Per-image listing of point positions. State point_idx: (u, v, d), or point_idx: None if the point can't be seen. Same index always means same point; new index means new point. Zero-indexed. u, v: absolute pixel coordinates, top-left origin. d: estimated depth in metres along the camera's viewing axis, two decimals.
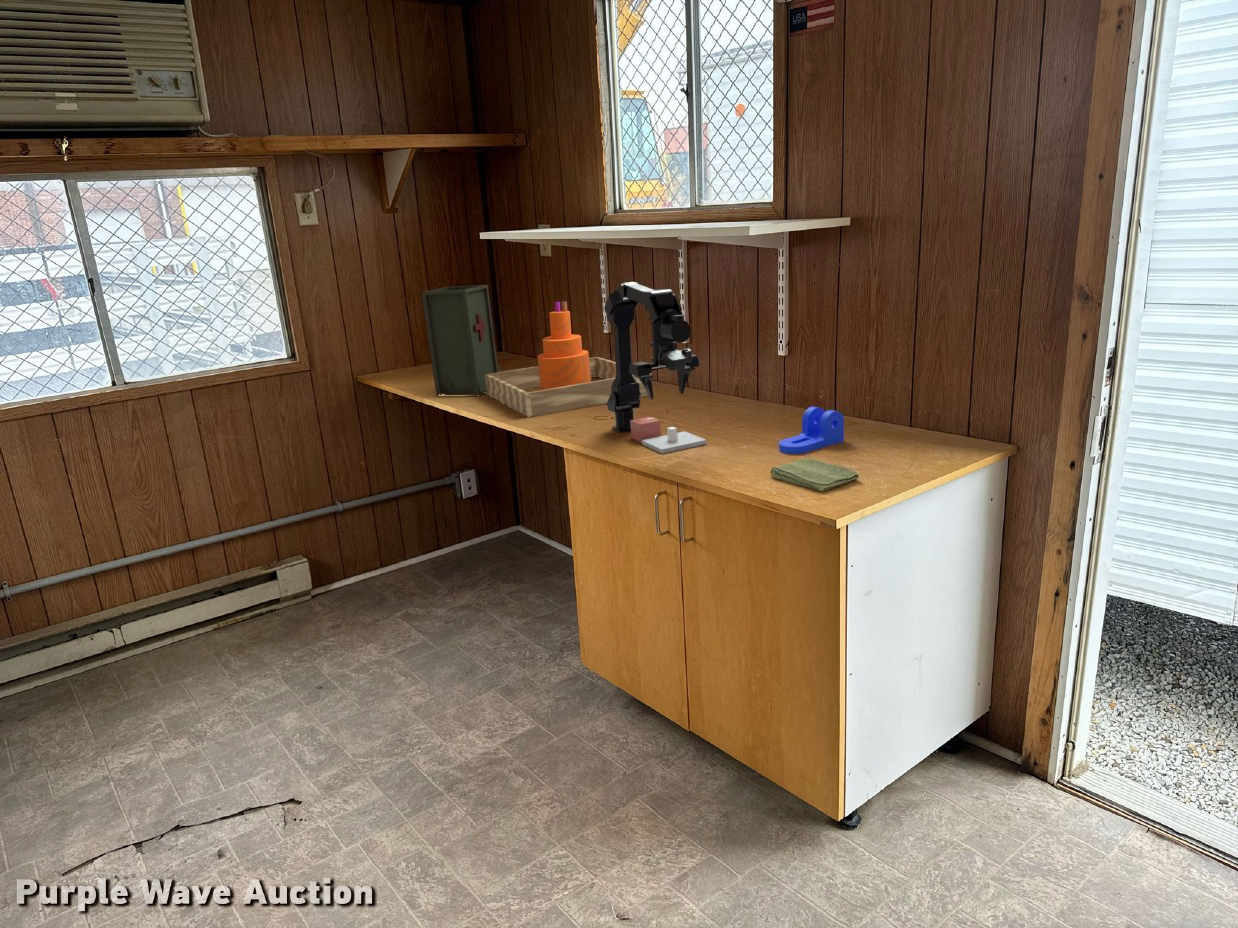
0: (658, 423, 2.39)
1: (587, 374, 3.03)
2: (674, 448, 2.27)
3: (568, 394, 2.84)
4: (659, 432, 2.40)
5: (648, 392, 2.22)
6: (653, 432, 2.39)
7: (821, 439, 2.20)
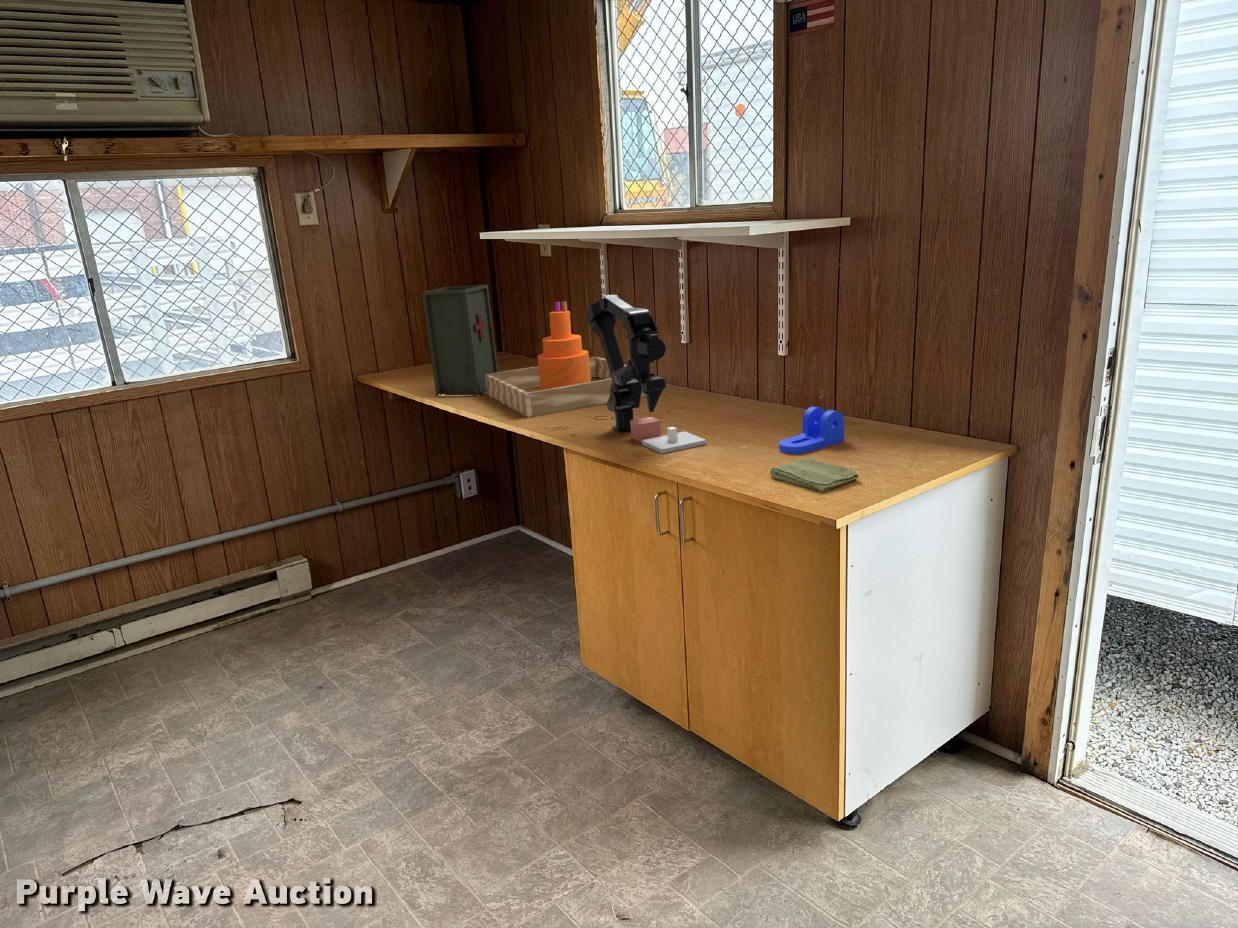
0: (658, 423, 2.39)
1: (587, 374, 3.03)
2: (674, 448, 2.27)
3: (568, 394, 2.84)
4: (659, 432, 2.40)
5: None
6: (653, 432, 2.39)
7: (821, 439, 2.20)
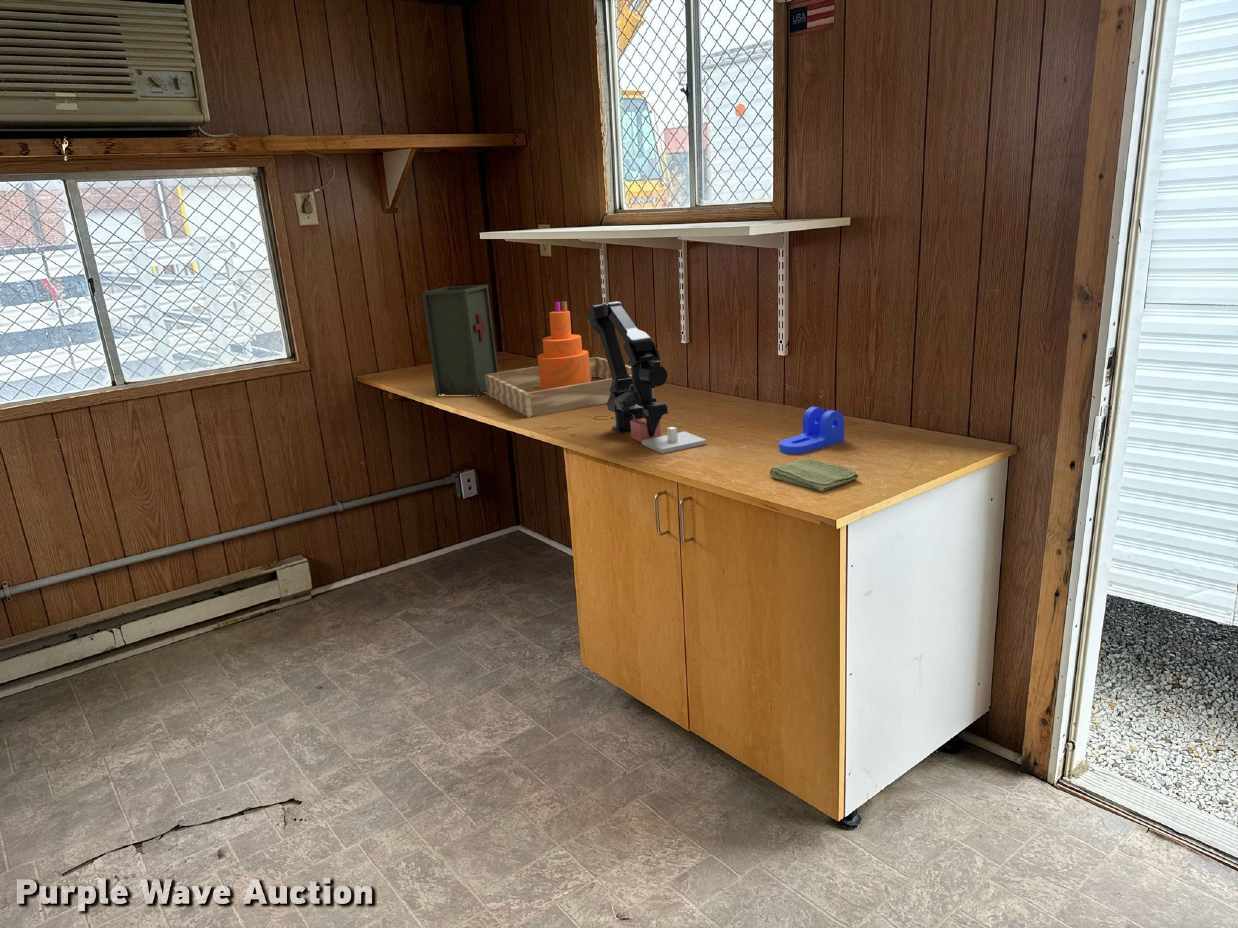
0: (658, 423, 2.39)
1: (587, 374, 3.03)
2: (674, 448, 2.27)
3: (568, 394, 2.84)
4: (659, 432, 2.40)
5: None
6: None
7: (821, 439, 2.20)
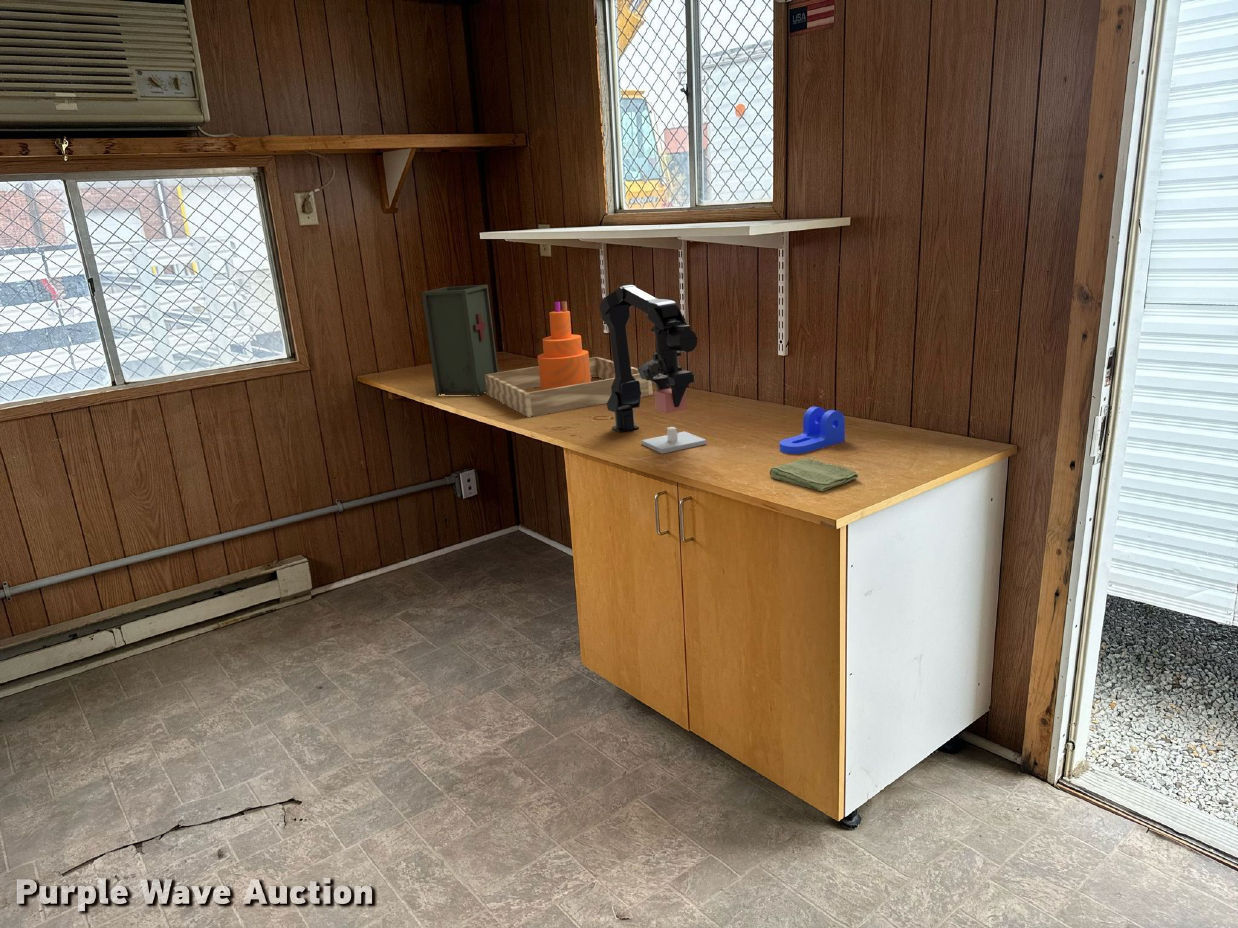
0: (684, 393, 2.28)
1: (587, 374, 3.03)
2: (674, 448, 2.27)
3: (568, 394, 2.84)
4: (685, 403, 2.29)
5: None
6: None
7: (822, 439, 2.20)
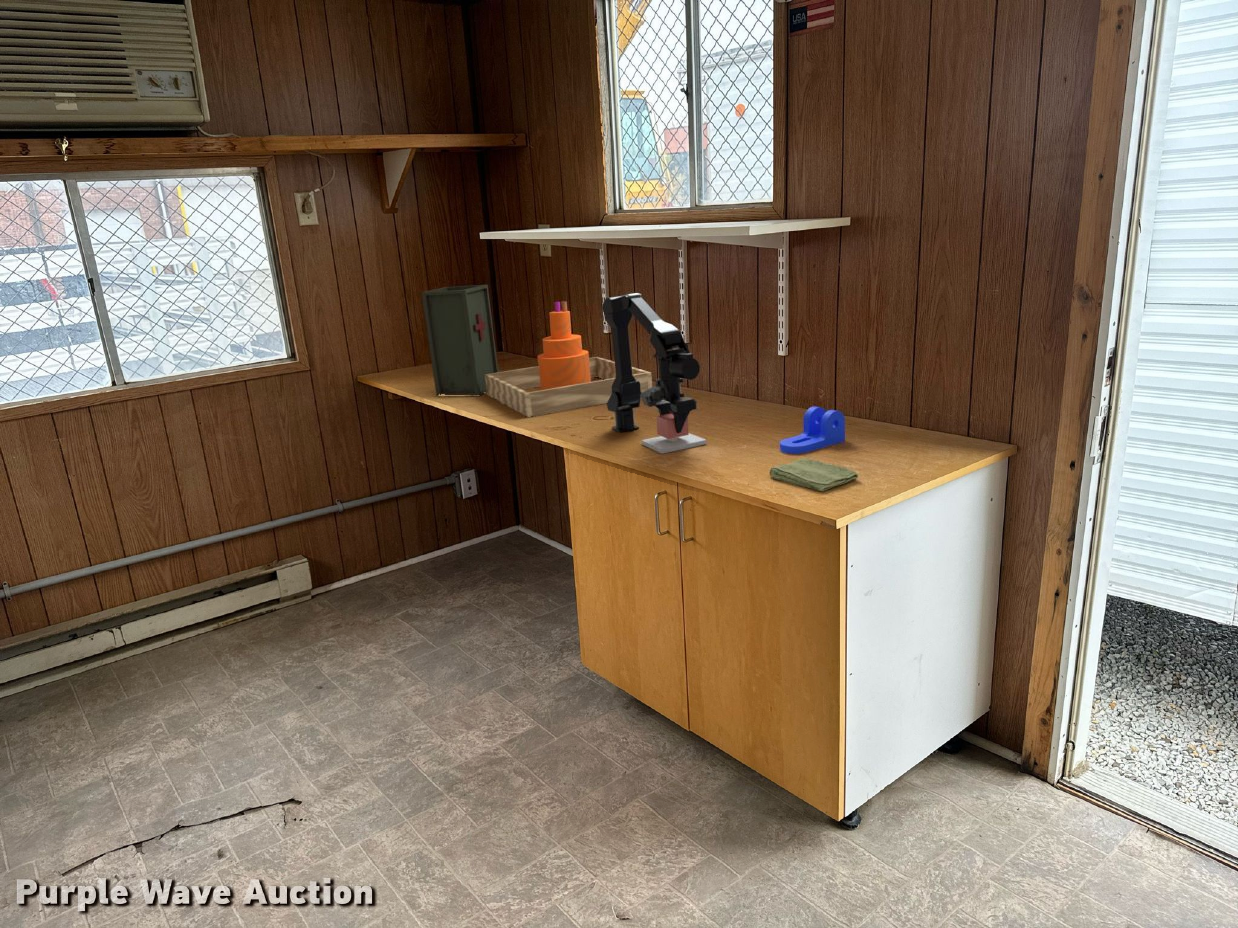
0: (686, 419, 2.30)
1: (587, 374, 3.03)
2: (674, 448, 2.27)
3: (568, 394, 2.84)
4: (686, 428, 2.31)
5: None
6: None
7: (822, 439, 2.20)
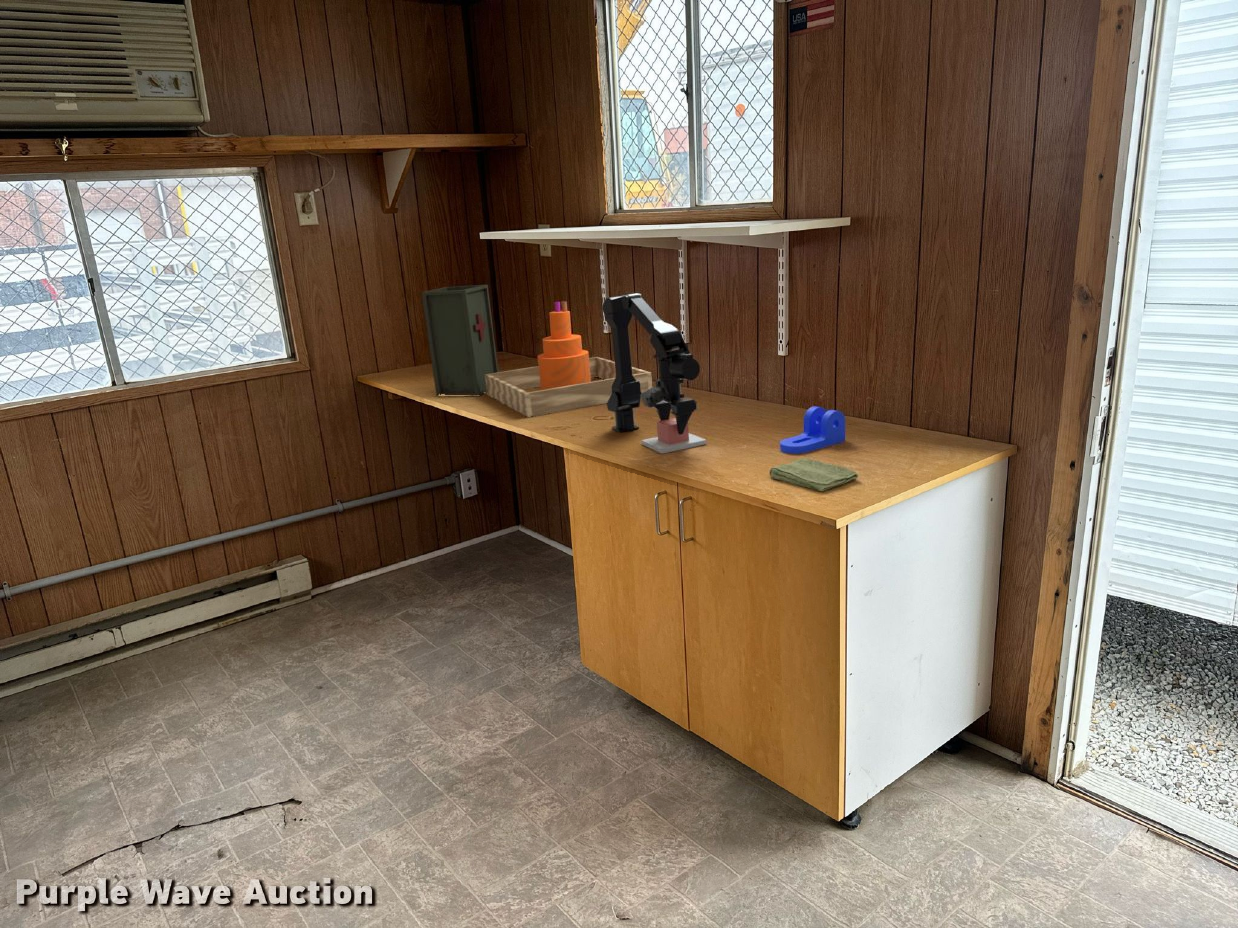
0: None
1: (587, 374, 3.03)
2: (674, 448, 2.27)
3: (568, 394, 2.84)
4: (687, 434, 2.31)
5: None
6: (681, 434, 2.30)
7: (822, 439, 2.20)
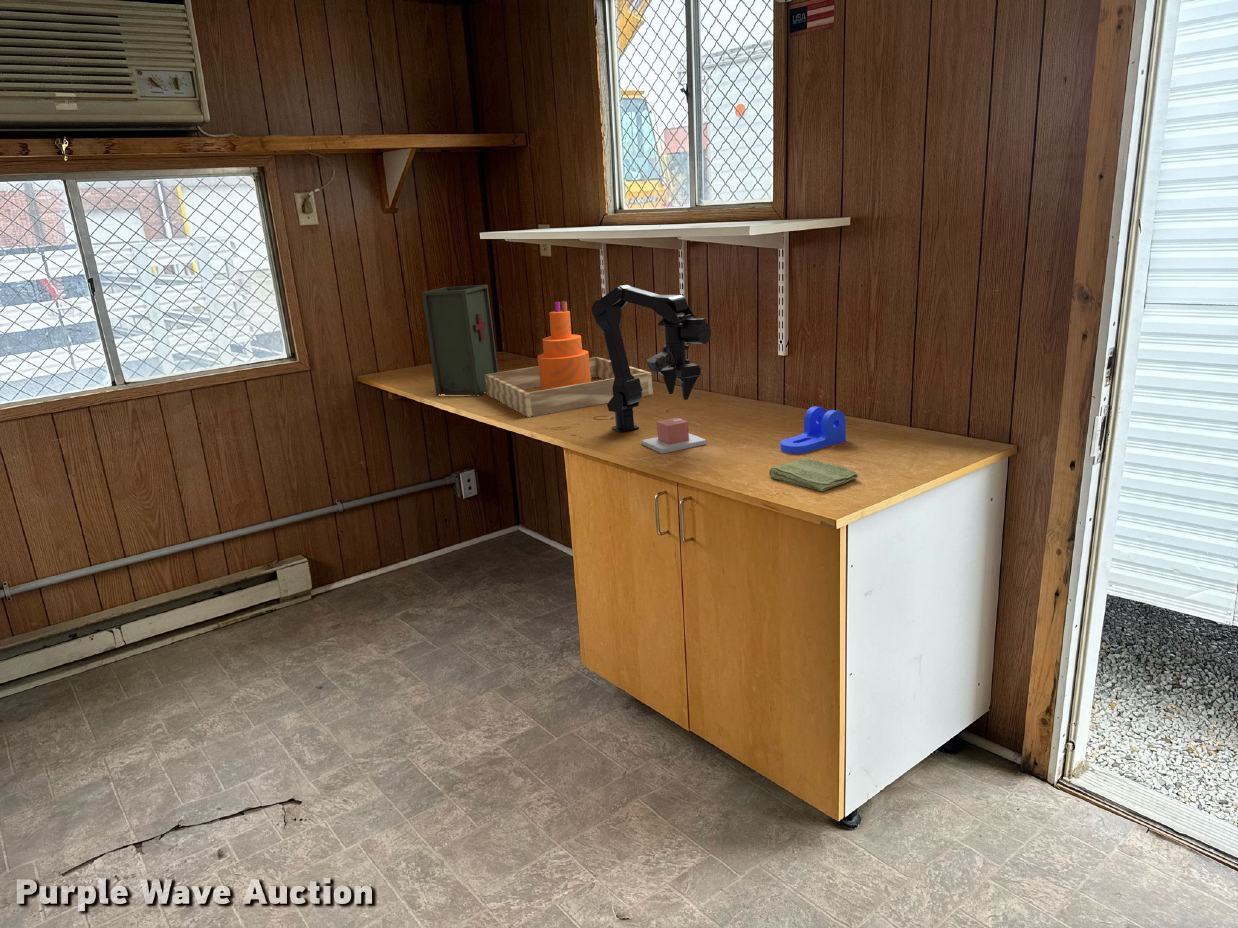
0: (686, 424, 2.30)
1: (587, 374, 3.03)
2: (674, 448, 2.27)
3: (568, 394, 2.84)
4: (687, 434, 2.31)
5: None
6: (681, 434, 2.30)
7: (823, 439, 2.20)
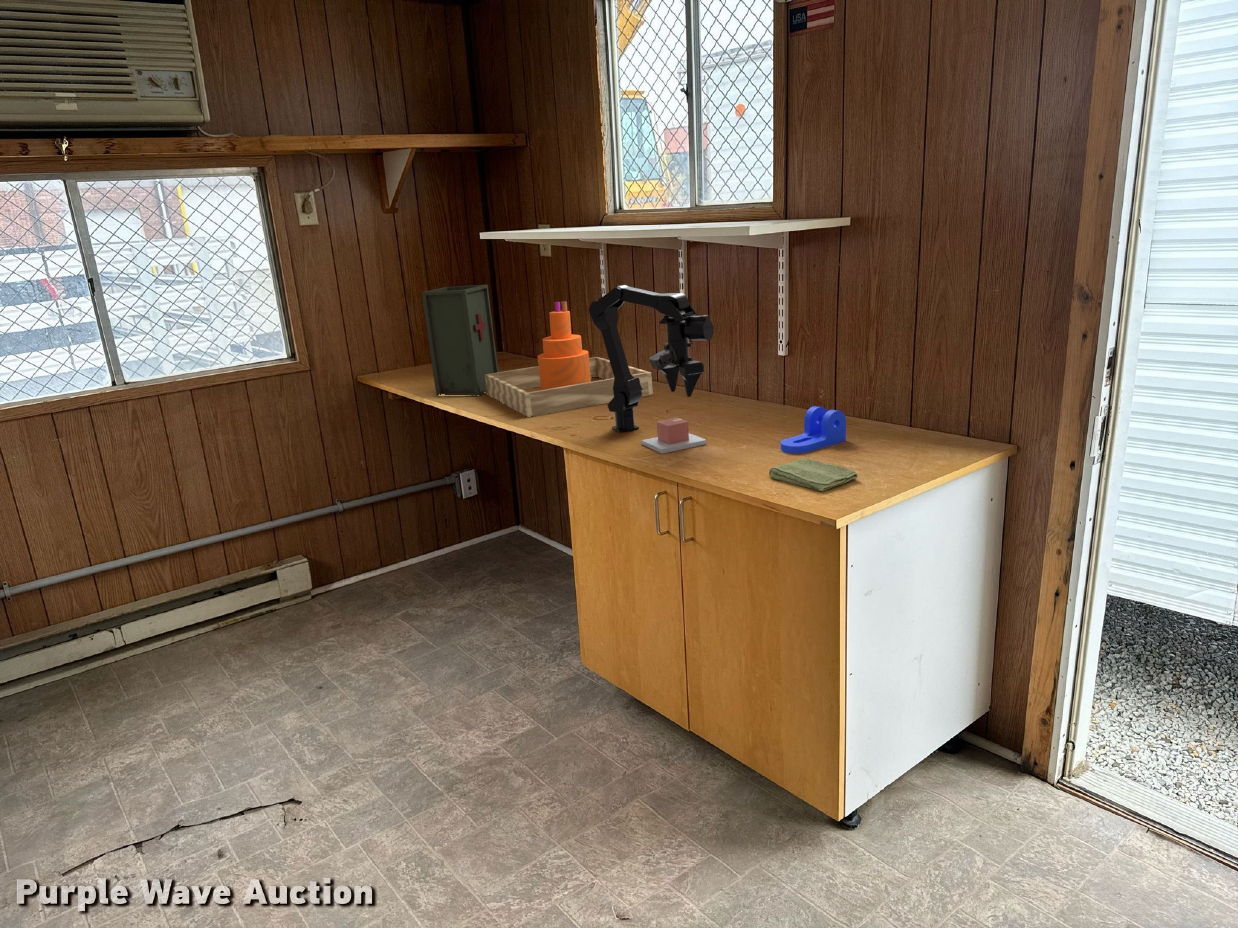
0: (686, 424, 2.30)
1: (587, 374, 3.03)
2: (674, 448, 2.27)
3: (568, 394, 2.84)
4: (687, 434, 2.31)
5: None
6: (681, 434, 2.30)
7: (823, 439, 2.20)
